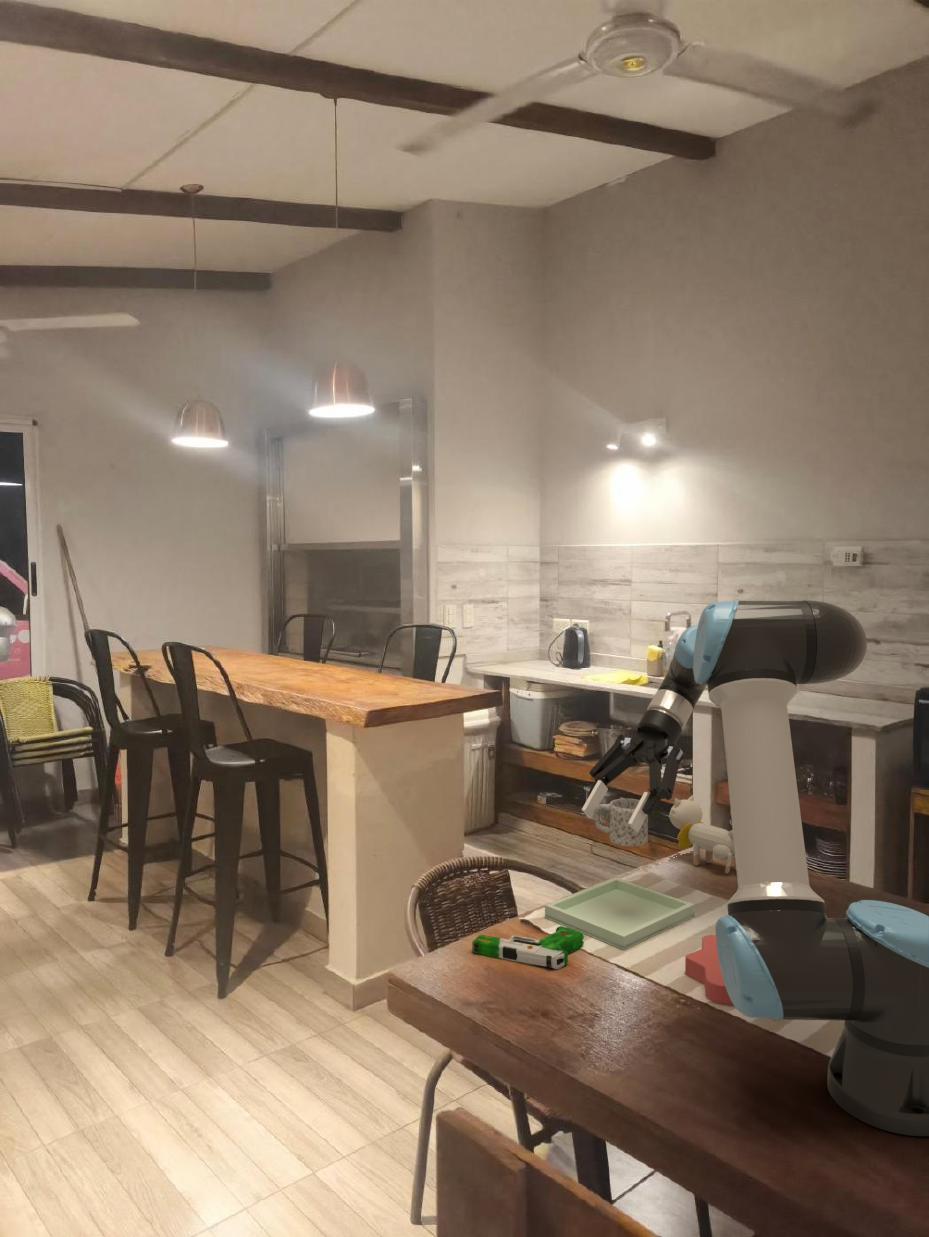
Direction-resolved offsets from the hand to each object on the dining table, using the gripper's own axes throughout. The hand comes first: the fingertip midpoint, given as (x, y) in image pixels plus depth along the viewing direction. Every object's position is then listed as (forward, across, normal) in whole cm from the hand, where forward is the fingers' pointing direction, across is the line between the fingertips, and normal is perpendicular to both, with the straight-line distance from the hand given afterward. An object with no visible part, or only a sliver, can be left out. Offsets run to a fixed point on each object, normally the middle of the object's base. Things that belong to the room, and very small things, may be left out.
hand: (609, 820), depth 165 cm
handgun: (+26, +2, 0) cm, 26 cm away
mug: (+1, 0, -5) cm, 5 cm away
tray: (+11, 0, -15) cm, 19 cm away
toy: (-13, +3, -39) cm, 41 cm away
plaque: (+15, -27, -12) cm, 33 cm away
